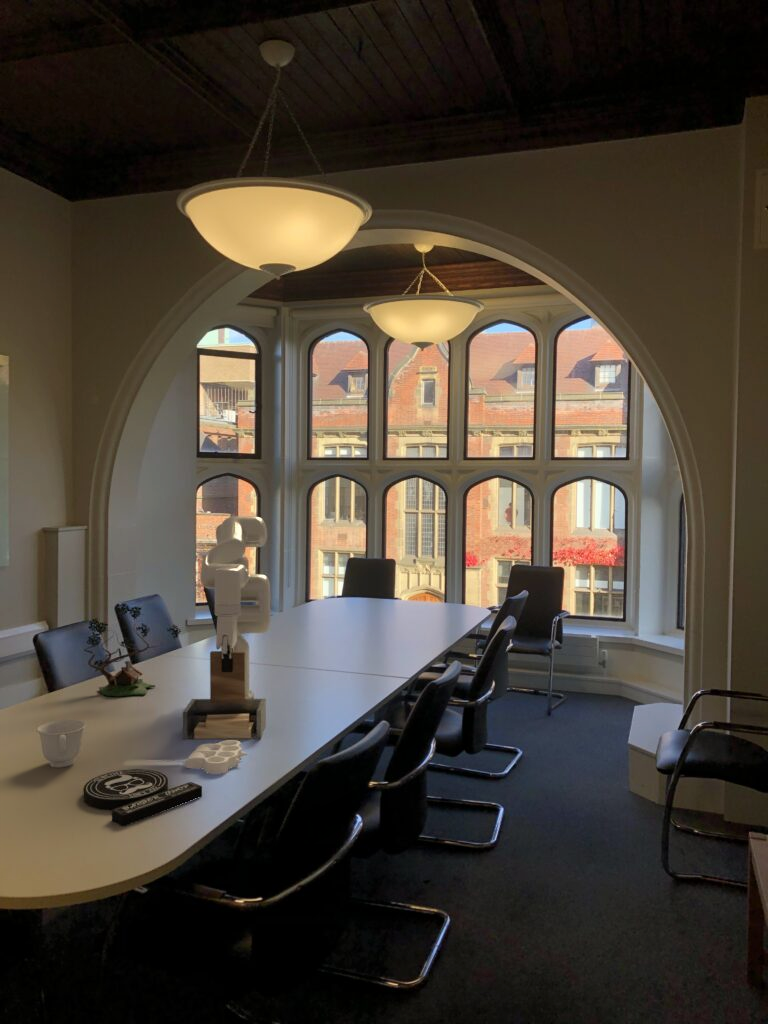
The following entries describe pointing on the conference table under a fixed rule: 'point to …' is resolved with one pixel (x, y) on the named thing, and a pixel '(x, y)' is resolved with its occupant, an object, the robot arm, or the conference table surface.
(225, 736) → the offcut lower
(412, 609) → the conference table surface
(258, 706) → the rack
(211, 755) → the white brass knuckles
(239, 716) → the offcut upper
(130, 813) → the decorative sign
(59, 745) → the teacup
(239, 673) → the wooden plank
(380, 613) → the conference table surface
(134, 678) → the bonsai tree
